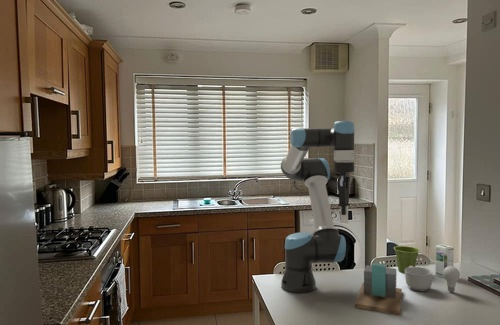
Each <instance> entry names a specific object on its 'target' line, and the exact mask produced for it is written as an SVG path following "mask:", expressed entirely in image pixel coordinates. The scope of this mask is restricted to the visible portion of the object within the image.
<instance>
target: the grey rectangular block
mask: <svg viewBox="0 0 500 325" xmlns="http://www.w3.org/2000/svg"><path fill="white" fill-rule="evenodd" d="M363 283H364V294H368V295H372V265H365V267H364V270H363ZM396 288H397V268H392V267H386V297H388V298H394V299H396Z"/></svg>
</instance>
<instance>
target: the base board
mask: <svg viewBox="0 0 500 325" xmlns="http://www.w3.org/2000/svg"><path fill="white" fill-rule="evenodd" d="M402 294H403V289H402V288H400V287H399V288H398V287H396V299H394V298H388V297H380V296H374V295H368V294H364V282H363V283H361V286H360V289H359V292H358V294H357V297H356V300H355V302H354V308H356V309H361V310H362V309H363V310H368V311H373V312H374V311H375V312H380V313H385V314H386V313H387V314H393V315H398V316H401V310H402V309H401V307H402Z"/></svg>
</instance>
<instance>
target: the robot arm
mask: <svg viewBox="0 0 500 325" xmlns="http://www.w3.org/2000/svg"><path fill="white" fill-rule="evenodd" d="M289 135H290V136H289V140H290V141H289V142H290V148H289V151H288V152H287V155H286V156H284V157H283V158H282V159H281V160H282V161H281V162H280V169H281V170H280V171H281V172H282V174H283V176H284V177H286V178H288V179H289V180H291V181H295V182H303V183H304V186H305V187H307V188H308V195H309V199H310V206H311V212H312V216H313V223H314V227H315V231H314V232H313V234H312V233H310V232H294V233H292V234H289V235H288V236H286V238H285V241H284V261H285V262H284V264H285V265H284V266H285V268H284V270H283V271H284V272H283V275H282V279H281V283H280V284H281V288H282V290H285V291H287V292H291V293H295V294H296V293H297V294H305V293H310V292H313V291H315V290H316V287H317V286H316V284H317V282H316V279H315V276H314V275H315V274H313V269H312V268H313V267H312V266H313V265H312V264H323V263H324V264H325V263H328V264H330V263H332V264H334V263H340V262H342V261H343V260H344V259H345V256H346V250H347V248H346V247H347V244H346V243H347V242H346V237H345V236H344V235H342V234H340V233H339V229H337V228H336V227H335V225H334V220H333V214H332V209H331V205H330V200H329V196H328V190H327V183H328V181H329V179H330V178H331V167H330V165H329V162H328V160H327V159H325V158H322V157H311V158H308V157H307V158H306V155H307V154H308V152H309V150H310V149H311V148H317V147H318V148H320V147H321V148H324V147H326V148H330V147H331V148H333V161H334V162H333V163H334V164H333V171H334V172H335V173H339V176H338V177H337V185H338V186H337V187H338V201H339V202H338V204H337V206H338V207H339V209H340V210H339V213H340V214H339V216H340V217H339V219H340V220H339V223H340V224H349V206H351V204H350V185H351V184H350V182H351V176H349V173H353V172H355V162H353V161H355V156H356V152H355V123H354V121H350V120H341V121H339V120H337V121H335V122H334V124H333V127H332V128H330V127H329V128H325V127H324V128H323V127H321V128H319V127H317V128H315V127H314V128H312V127H311V128H304V127H303V128H302V127H298V128H292V129H291V131H290V134H289Z"/></svg>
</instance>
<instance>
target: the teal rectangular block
mask: <svg viewBox="0 0 500 325" xmlns="http://www.w3.org/2000/svg"><path fill="white" fill-rule="evenodd" d="M371 266H372V295H374V296H380V297H386V268H387V264H385V263H377V262H376V263H375V262H372V264H371Z"/></svg>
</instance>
